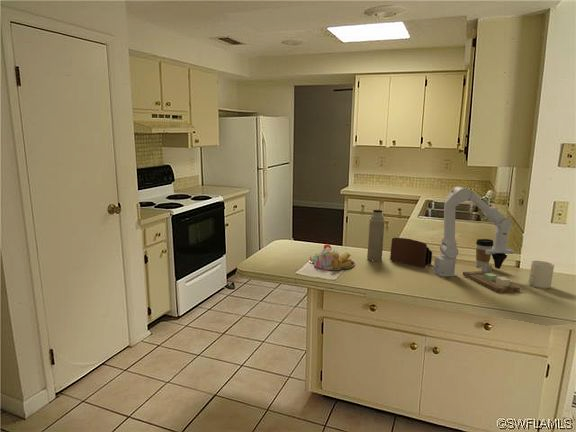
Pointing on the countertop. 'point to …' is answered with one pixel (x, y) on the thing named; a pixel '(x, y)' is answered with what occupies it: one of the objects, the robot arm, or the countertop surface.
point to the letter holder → (410, 252)
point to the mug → (541, 274)
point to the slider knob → (486, 268)
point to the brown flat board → (490, 282)
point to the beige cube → (502, 281)
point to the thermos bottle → (376, 236)
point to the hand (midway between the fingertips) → (497, 268)
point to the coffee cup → (483, 251)
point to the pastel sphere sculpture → (332, 259)
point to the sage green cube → (490, 277)
